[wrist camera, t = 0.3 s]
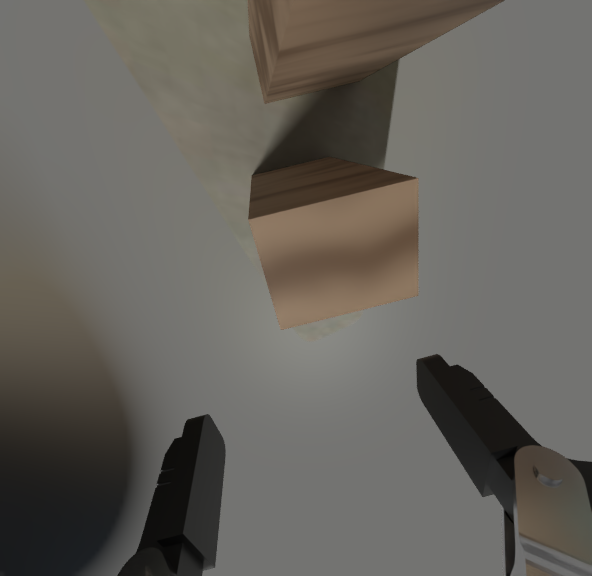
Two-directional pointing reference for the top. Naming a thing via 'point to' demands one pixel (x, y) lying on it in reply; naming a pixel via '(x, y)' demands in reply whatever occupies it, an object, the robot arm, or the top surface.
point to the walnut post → (343, 38)
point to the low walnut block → (334, 238)
